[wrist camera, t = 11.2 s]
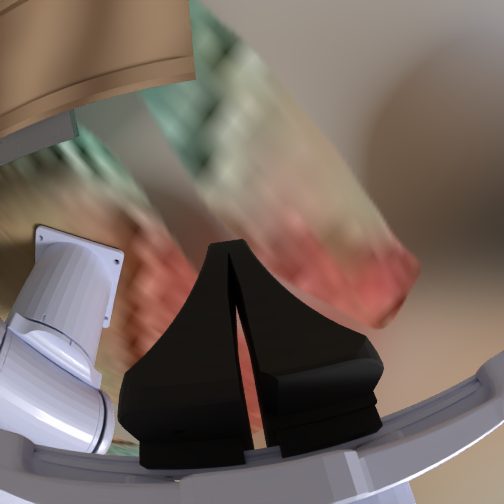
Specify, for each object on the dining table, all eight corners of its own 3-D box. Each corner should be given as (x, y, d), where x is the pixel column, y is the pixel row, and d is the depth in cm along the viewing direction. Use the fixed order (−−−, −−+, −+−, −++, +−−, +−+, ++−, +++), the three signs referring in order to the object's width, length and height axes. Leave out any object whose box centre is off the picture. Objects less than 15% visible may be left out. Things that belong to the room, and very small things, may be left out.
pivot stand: (-2, 165, 16) (-22, 180, 13) (-23, 20, 8) (-45, 20, 6) (78, 135, 16) (61, 146, 14) (61, -28, 9) (43, -38, 6)
